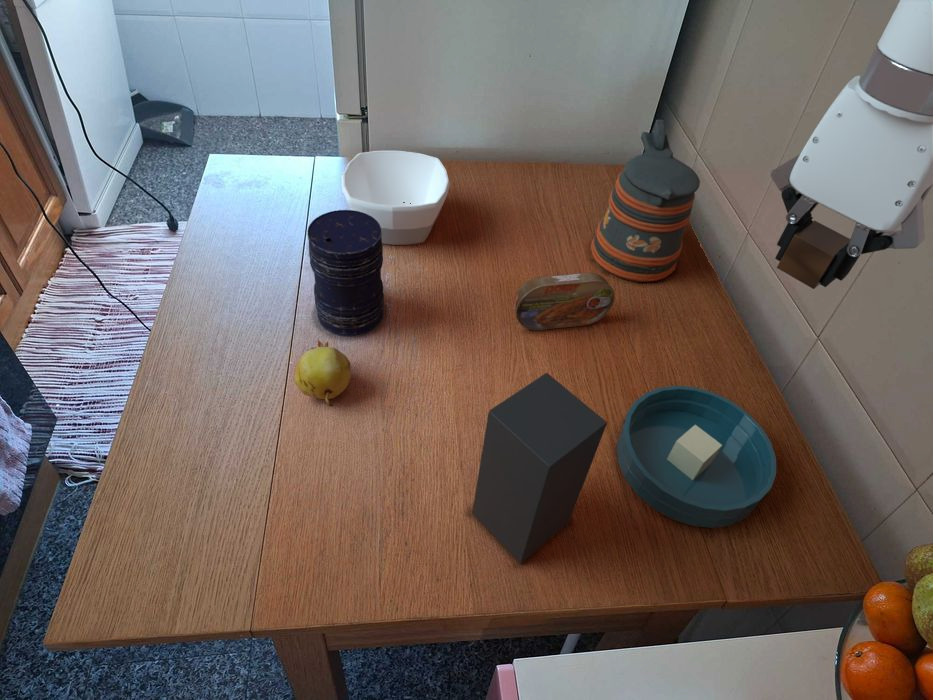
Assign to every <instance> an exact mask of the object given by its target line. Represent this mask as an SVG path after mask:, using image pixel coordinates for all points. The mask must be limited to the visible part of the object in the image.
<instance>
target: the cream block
mask: <svg viewBox="0 0 933 700" xmlns="http://www.w3.org/2000/svg"><path fill="white" fill-rule="evenodd" d="M721 447H722V444H720V443H719V442H718V441H716V440H715V439H714V438H712V437H711V436H710V435H708V434H707V433H706V432H704V431H703V430H702V429H700V428H699V427H698V426H697V425H694V426H693V427H692V428H691V429H689V430H688V431H687V432H686V433H685V434H684V435H683V436H681V437H680V438H679V439H678V440H677V441H676V443H675V445H674V447H673V448H672V450H671V452H670V454H669V456H668V458H667V460H668V461H669V462H671V463H672V464H673V465H674V466H676V467H677V468H678V469H679V470H681V471H682V472H683V473H684V474H686V475H687V476H688V477H689V478H690V479H692V480H694V479H695V478H696V477H697V476H699V475H700V474H701V473H702V472H703V471H704V470H705V469H706V468H707V467H708V466H709V465H710V464H711V463H712V461H713V460H714V458H715V456H716V455H717V453H718V452H719V450H720V448H721Z"/></svg>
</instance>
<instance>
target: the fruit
mask: <svg viewBox="0 0 933 700" xmlns="http://www.w3.org/2000/svg"><path fill="white" fill-rule="evenodd" d="M351 369H352V367H351V362H350V360H349V359H348V357H347V356H346V355H345V354H344V353H343V352H342V351H340V350H339V349H337V348H336V347H334V346H333V347H332V346H329V340H326V342H325V343H324V344H323V342H321V341H320V340H319V339H317V346H316V347H315V346H314V347H310V349H308V350H307V351H305V352H304V353H303V354H302V355H301V356H300V358H299V359H298V361H297V363H296V365H295V369H294V374H293V380H294V384H295V386H296V387H297V388H298V390H299V391H300V392H301V393H302V394H304V396H307V397H310V398H314V399H320V400H324V401H325V403H326V404H327V406H328V407H329V408H331V407H334V404H333V403H331V401H330V400H331V399H334V398H336V397H338V396H339V395H341V394H342V393H343V392H344V391H345V390H346V389H347V387H348V385H349V383H350V382H351V381H350V380H351V373H352V372H351Z"/></svg>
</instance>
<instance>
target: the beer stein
mask: <svg viewBox="0 0 933 700" xmlns="http://www.w3.org/2000/svg"><path fill="white" fill-rule="evenodd" d="M640 140H641V142H642V145H643V149H644V152H643V153H642V154H639V155H636V156H634V157H631V158H630V159H629V160H628V161H627V163H626V164H625V165H624V167H623V170H622V171H620V173H618V175H617V177H616V181H615V184H614V186H613V188H612V190H611V192H610V196H609V198H608V207H607V209H606V211H605V215H604V216H602V218H601V220H600V221H599V223H598V225H597V229H596V232H595V234H594V236H593V238H592V240H591V245H590V250H591V254H592V257H593V259H594V261H596V263H597V264H598V265H599V266H600V267H601V268H602V269H604V270H605V271H607V272H608V273H610V274H612V275H613V276H615V277H618V278H621V279H622V280H626V281H631V282H635V283H650V282H657V281H660V280H661V281H662V280H663V279H666V278H667V277H668V276H670V275H671V274H673V273H674V272H675V271H676V267H677V264H678V260H679V258H680V255H681V251H682V249H683V236H684V232H685V228H686V225H687V224H688V223H689V221H690V219H691V214H692V210H693V205H694V201H695V199H696V198H695V197H696V192H697V191H698V190H699V188H700V185H701V181H700V180H701V179H700V177H699V175H698V174H697V172H695V170H694V169H692V168H691V167H690V166H689V165H687V164H686V163H684V162H683V161H681V160H679V159H677V158H675V157H674V155H673V154H674V153H673V151H672V149H671V147H670V143H669V139H668V134H667V133H666V126H665V120H664V119H656V120H655V122H654V126H653V128H652V131H651V132H646V131H643V132H642V133H641V136H640Z"/></svg>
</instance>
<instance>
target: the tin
mask: <svg viewBox="0 0 933 700" xmlns="http://www.w3.org/2000/svg"><path fill="white" fill-rule="evenodd" d="M614 303H615V291H614V289H613V287H612V286H611V285H610V284H609V282H608V281H607V280H606V278H605V277H604V276H602V275H601V274H599V273H596V272H579V273H578V272H577V273H567V274H557V275H547V276H538V277H535V278H532V279H530V280H527V281H526V282H525V283H524V284H523V285H521V286H520V287H519V288H518V290H517V291H516V292H515V296H514V299H513V310H514V314H515V317H516V320H517V321H518V324H520V325H521V326H522V327H523V328H524V329H528V330H531V331H546V330H554V329H555V330H556V329H565V328H575V327H585V326H589V325H592V324H594V323H597V322H598V321H600V320H601V319H602V318H604V317H605V316H606V315H607V314H608V313H609V312H610V311H611V309H612V307H613V306H614Z"/></svg>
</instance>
